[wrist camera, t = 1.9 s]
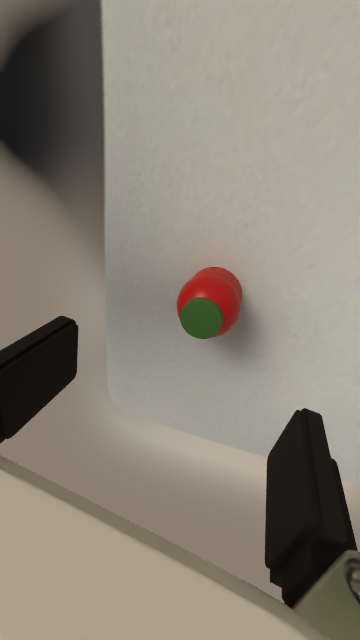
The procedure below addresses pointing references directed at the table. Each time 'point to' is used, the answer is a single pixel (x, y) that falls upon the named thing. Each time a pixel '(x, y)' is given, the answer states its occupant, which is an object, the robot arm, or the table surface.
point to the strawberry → (209, 303)
